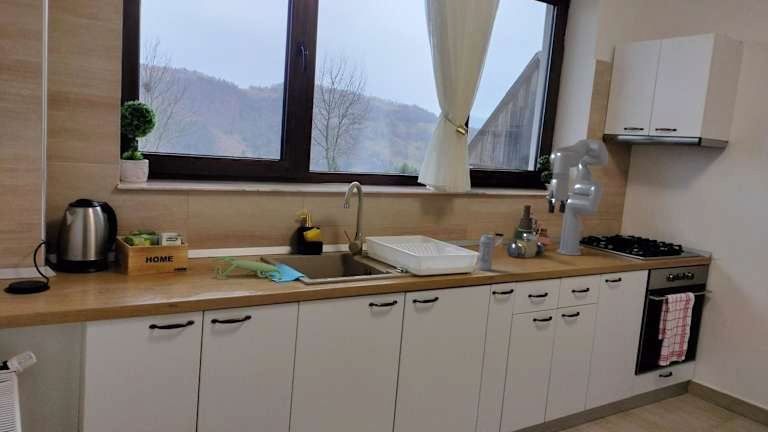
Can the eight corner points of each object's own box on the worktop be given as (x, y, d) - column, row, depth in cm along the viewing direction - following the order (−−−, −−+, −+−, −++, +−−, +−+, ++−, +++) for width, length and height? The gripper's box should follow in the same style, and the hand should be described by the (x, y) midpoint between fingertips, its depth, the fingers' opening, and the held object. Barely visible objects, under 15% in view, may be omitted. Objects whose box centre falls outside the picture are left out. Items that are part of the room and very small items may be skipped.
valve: (533, 253, 311) (534, 237, 310) (543, 256, 305) (545, 239, 304) (506, 255, 299) (507, 238, 298) (516, 258, 294) (518, 241, 292)
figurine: (213, 267, 230) (214, 253, 229) (283, 270, 234) (284, 256, 233) (206, 279, 212) (206, 264, 211) (281, 282, 216) (282, 267, 215)
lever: (526, 237, 304) (527, 233, 304) (554, 244, 290) (554, 239, 289) (520, 238, 301) (521, 233, 301) (548, 244, 287) (548, 239, 287)
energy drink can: (493, 270, 262) (497, 236, 261) (485, 271, 258) (488, 237, 257) (483, 267, 267) (486, 234, 265) (474, 268, 263) (477, 235, 261)
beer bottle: (531, 251, 319) (536, 206, 316) (517, 249, 319) (522, 205, 316) (528, 248, 327) (533, 205, 324) (514, 247, 327) (518, 204, 324)
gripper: (565, 177, 300) (561, 211, 302) (542, 176, 290) (538, 212, 292) (578, 178, 294) (574, 213, 296) (554, 177, 284) (550, 214, 286)
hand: (556, 212), depth 294 cm, fingers open, 7 cm apart
